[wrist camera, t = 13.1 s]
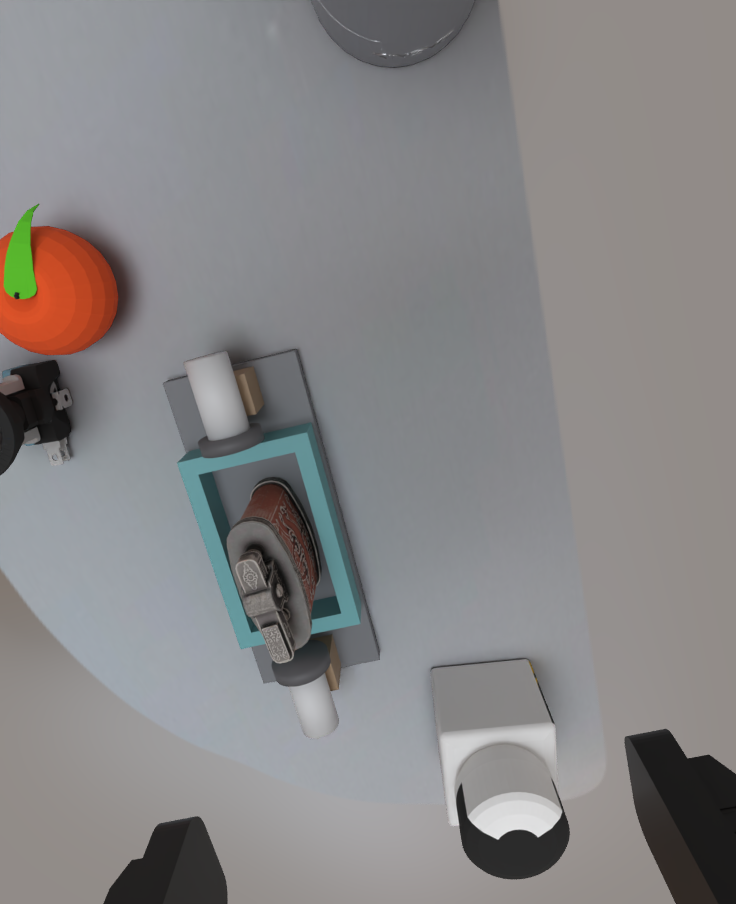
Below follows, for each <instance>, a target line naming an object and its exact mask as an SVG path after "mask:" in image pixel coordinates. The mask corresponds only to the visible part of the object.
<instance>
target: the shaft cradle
mask: <svg viewBox="0 0 736 904" xmlns="http://www.w3.org/2000/svg"><path fill="white" fill-rule="evenodd" d="M184 366H185V369H186V372H187V375H188V376H184V377H180V378H176V379H172V380H168V381H166V382H164V383H163V385H164V388H165V391H166V394H167V397H168V400H169V403H170V406H171V409H172V412H173V415H174V418H175V421H176V424H177V427H178V430H179V433H180V436H181V439H182V442H183V445H184V448H185V451H186V455H185V456H184V457H183V458H182V459H181V460H180V461H179V462H178V463H177V464H178V467H179V470H180V473H181V476H182V479H183V482H184V485H185V488H186V490H187V493H188V496H189V499H190V502H191V505H192V508H193V511H194V514H195V517H196V520H197V523H198V526H199V528H200V531H201V534H202V537H203V540H204V543H205V546H206V549H207V552H208V555H209V558H210V561H211V564H212V567H213V569H214V572H215V575H216V578H217V581H218V584H219V587H220V590H221V593H222V596H223V599H224V602H225V605H226V607H227V610H228V613H229V616H230V619H231V622H232V625H233V628H234V631H235V634H236V637H237V640H238V643H239V645H240V648H241V649H244V648H248V647H252V650H253V653H254V656H255V659H256V662H257V665H258V668H259V671H260V674H261V677H262V680H263V683H269V682H274V681H277V682H278V683H279V684H281V685H283V686H288V687H289V690H290V693H291V696H292V699H293V702H294V705H295V708H296V711H297V714H298V718H299V721H300V724H301V727H302V730H303V733H304V735H305V736H306V737H308V738H311V739H319V738H323V737H325V736H328V735H329V734H331V733H332V732H333V731H334V730H335V729H336V728H337V726H338V724H339V718H338V715H337V711H336V708H335V705H334V701H333V698H332V695H331V692H330V691H333V690H338V689H339V681H340V669H341V668H342V667H347V666H352V665H356V664H361V663H366V662H371V661H376V660H380V651H379V648H378V644H377V640H376V637H375V633H374V629H373V626H372V622H371V618H370V615H369V611H368V607H367V604H366V600H365V596H364V593H363V589H362V585H361V582H360V578H359V574H358V571H357V567H356V564H355V560H354V556H353V553H352V549H351V545H350V542H349V538H348V534H347V531H346V527H345V523H344V520H343V516H342V512H341V509H340V505H339V501H338V498H337V494H336V490H335V487H334V483H333V479H332V476H331V472H330V468H329V465H328V461H327V457H326V454H325V450H324V447H323V443H322V439H321V436H320V432H319V428H318V425H317V421H316V417H315V414H314V410H313V406H312V403H311V399H310V395H309V392H308V388H307V384H306V381H305V377H304V373H303V370H302V366H301V362H300V359H299V355H298V351H297V349H294V350H290V351H286V352H282V353H278V354H274V355H270V356H266V357H261V358H257V359H253V360H249V361H245V362H241V363H237V364H233V365H231V362H230V359H229V356H228V353H227V351H223V352H218V353H213V354H209V355H205V356H202V357H198V358H195V359H192V360H189V361H186V362H184ZM267 477H280V478H282V479H284V480H286V481H287V482H288V483H289V484H290V485H291V487H292V489H293V490H294V492H295V493H296V495H297V497H298V498H299V500H300V502H301V503H302V505H303V507H304V509H305V512H306V514H307V516H308V518H309V520H310V523H311V525H312V527H313V531H314V534H315V538H316V541H317V545H318V548H319V555H320V561H321V568H322V572H321V579H320V582H319V584H318V586H316V590H315V595H314V600H313V606H312V611H311V620H312V630H311V636H310V638H309V640H308V642H307V643H306V644H305V645H304V646H303V647H301V648H299V649H297V650H295V652H294V656H293V659H292V660H291V661H288V662H285V663H276V662H275V661H273V659H272V657H271V655H270V653H269V650H268V648H267V645H266V643H265V640H264V638H263V636H262V634H261V633H260V631H259V630H258V628H257V627H256V625H255V624H254V622H253V621H252V619H251V617H248V615H247V614H246V612H245V609H244V607H243V603H242V599H241V597H240V594H239V591H238V588H237V585H236V582H235V579H234V576H233V573H232V570H231V565H230V559H229V554H228V549H227V537H228V535H229V532H230V531H231V529H232V527H233V526H234V525H235V524H236V523H237V522H238V521H239V520H240V519H241V517H242V516H243V514H244V512H245V510H246V508H247V506H248V504H249V502H250V495H251V493H252V490H253V489H254V487H255V485H256V484H257V483H258V482H259V481H260V480H262V479H264V478H267Z"/></svg>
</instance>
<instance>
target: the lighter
mask: <svg viewBox="0 0 736 904" xmlns="http://www.w3.org/2000/svg"><path fill="white" fill-rule="evenodd" d="M227 549H228V554H229V559H230V565H231V570H232V573H233V576H234V579H235V582H236V585H237V588H238V591H239V594H240V597H241V599H242V603H243V607H244V609H245V612H246V614H247V615H248V617H251V619H252V621H253V622H254V624H255V625H256V627H257V628H258V630H259V631H260V633H261V634H262V636H263V638H264V640H265V643H266V645H267V648H268V650H269V653H270V655H271V657H272V659H273V661H275V662H276V663H285V662H288V661H291V660H292V659H293V656H294V652H295V650H297V649H299V648H301V647H303V646H304V645H305V644H306V643H307V642H308V640H309V638H310V636H311V630H312V620H311V611H312V606H313V600H314V595H315V590H316V586H318V584H319V582H320V579H321V572H322V568H321V561H320V555H319V548H318V545H317V541H316V538H315V534H314V531H313V527H312V525H311V523H310V520H309V518H308V516H307V514H306V512H305V509H304V507H303V505H302V503H301V502H300V500H299V498H298V497H297V495H296V493H295V492H294V490H293V489H292V487H291V485H290V484H289V483H288V482H287V481H286V480H284V479H282V478H280V477H267V478H264V479H262V480H260V481H259V482H258V483H257V484H256V485H255V487H254V489H253V490H252V493H251V495H250V502H249V504H248V506H247V508H246V510H245V512H244V514H243V516H242V517H241V519H240V520H239V521H238V522H237V523H236V524H235V525H234V526H233V527H232V529H231V531H230V532H229V535H228V537H227Z"/></svg>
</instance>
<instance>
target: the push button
mask: <svg viewBox="0 0 736 904" xmlns="http://www.w3.org/2000/svg"><path fill="white" fill-rule="evenodd" d="M59 374H60V371H59V367H58V364H57V362H56V361H55V360H52V361H46V362H40V363H34V364H28V365H23V366H19V367H15V368H12V369H8V370H5V371H3V373H2V376H3V383H1V384H0V475H2V474H3V473H4V472H5V471H6V470H7V469H8V468H9V467H10V465H11V464H12V463H13V461H14V459H15V457H16V455H17V453H18V451H19V449H20V447H21V445H23V444H25V445H26V446H30V445H37V444H42V445H43V448H44V450H47V453H48V456H49V459H50V462H51V465H52V466H55V465H62V464H63V463H64V462H63V461H67V460H70V456H69V452H68V449H67V446H66V444H68V441H67V438H66V437H68V436H69V434H70V433H71V426H70V423H69V420H68V416H67V413H66V410H65V408H66V407H69V406H71V405H72V400H71V396H70V393H69V390H68V389H67V388H66V389H63V390H61V391H60V390H59V387H58V384H57V380H56V378H57V377H58V376H59ZM64 395H66V396H67V399H68V400H67V402H66V400H65V398H64ZM61 450H62V451H64V452H65V456H62V455H61V452H60V451H61ZM53 455H57V459H58V460H54V459H53Z"/></svg>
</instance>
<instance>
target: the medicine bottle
mask: <svg viewBox="0 0 736 904" xmlns="http://www.w3.org/2000/svg"><path fill="white" fill-rule="evenodd" d="M430 676H431V685H432V694H433V704H434V713H435V722H436V731H437V740H438V749H439V757H440V765H441V772H442V780H443V787H444V795H445V803H446V810H447V818H448V821H449V824H450V825H451V826H460V833H461V840H462V845H463V848H464V851H465V853H466V855H467V856H468V858H469V859H470V860H471V861H472V862H473V863H474V864H475V865H476V866H477V867H479V868H480V869H482V870H483V871H485V872H486V873H488V874H491V875H493V876H496V877H500V878H504V879H525V878H529V877H532V876H536V875H538V874H541V873H542V872H544V871H546V870H548V869H549V868H551V867H552V866H553V865H554V864H555V863H556V862H557V861H558V860H559V859H560V857H561V856H562V854H563V853H564V851H565V849H566V847H567V844H568V841H569V835H570V831H569V824H568V821H567V818H566V815H565V812H564V809H563V806H562V804H561V801H560V798H559V791H558V769H557V748H556V727H555V724H554V722H553V719H552V716H551V714H550V711H549V709H548V706H547V704H546V701H545V699H544V696H543V694H542V691H541V688H540V686H539V683H538V681H537V678H536V676H535V673H534V671H533V668H532V665H531V663H530V661H529V660H527V659H521V660H511V661H501V662H490V663H480V664H470V665H460V666H450V667H439V668H433V669H432V670H431V673H430Z"/></svg>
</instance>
